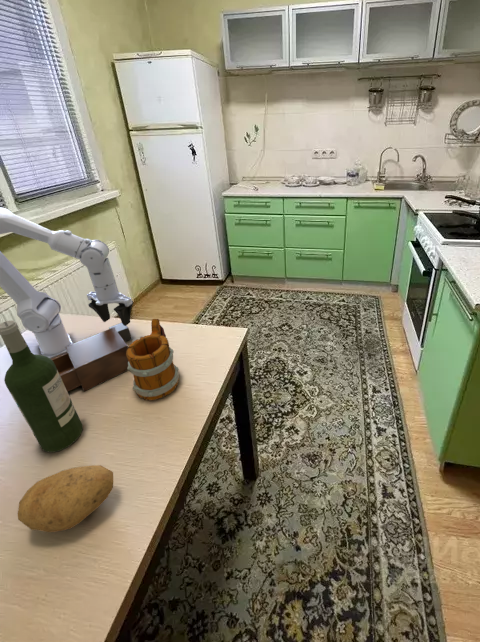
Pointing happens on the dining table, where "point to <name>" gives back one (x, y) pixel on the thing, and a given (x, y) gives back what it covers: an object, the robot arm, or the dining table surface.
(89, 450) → the dining table surface
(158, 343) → the mug
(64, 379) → the drawer
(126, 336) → the block
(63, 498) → the potato
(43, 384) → the wine bottle
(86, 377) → the cabinet
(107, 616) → the dining table surface
